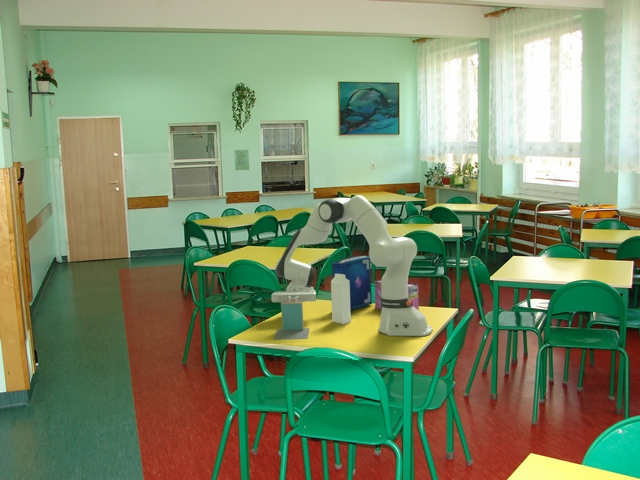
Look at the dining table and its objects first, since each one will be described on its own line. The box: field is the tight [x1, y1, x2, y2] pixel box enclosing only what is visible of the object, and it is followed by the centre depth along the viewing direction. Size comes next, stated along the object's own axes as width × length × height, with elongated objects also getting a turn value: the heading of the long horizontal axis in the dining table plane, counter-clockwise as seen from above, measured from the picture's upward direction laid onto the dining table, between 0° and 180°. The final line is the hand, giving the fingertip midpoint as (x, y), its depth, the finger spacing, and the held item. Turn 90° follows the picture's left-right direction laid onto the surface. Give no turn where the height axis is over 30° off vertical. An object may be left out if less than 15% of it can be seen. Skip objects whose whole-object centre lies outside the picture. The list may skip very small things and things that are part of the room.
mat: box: [273, 327, 310, 341], centre depth 272 cm, size 17×14×1 cm
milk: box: [330, 274, 352, 326], centre depth 290 cm, size 6×6×22 cm
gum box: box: [374, 280, 420, 311], centre depth 311 cm, size 24×8×14 cm, turn 38°
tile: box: [280, 302, 305, 331], centre depth 277 cm, size 2×9×12 cm, turn 88°
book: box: [331, 255, 373, 311], centre depth 318 cm, size 22×7×25 cm, turn 132°
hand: (292, 300), depth 286 cm, fingers closed
